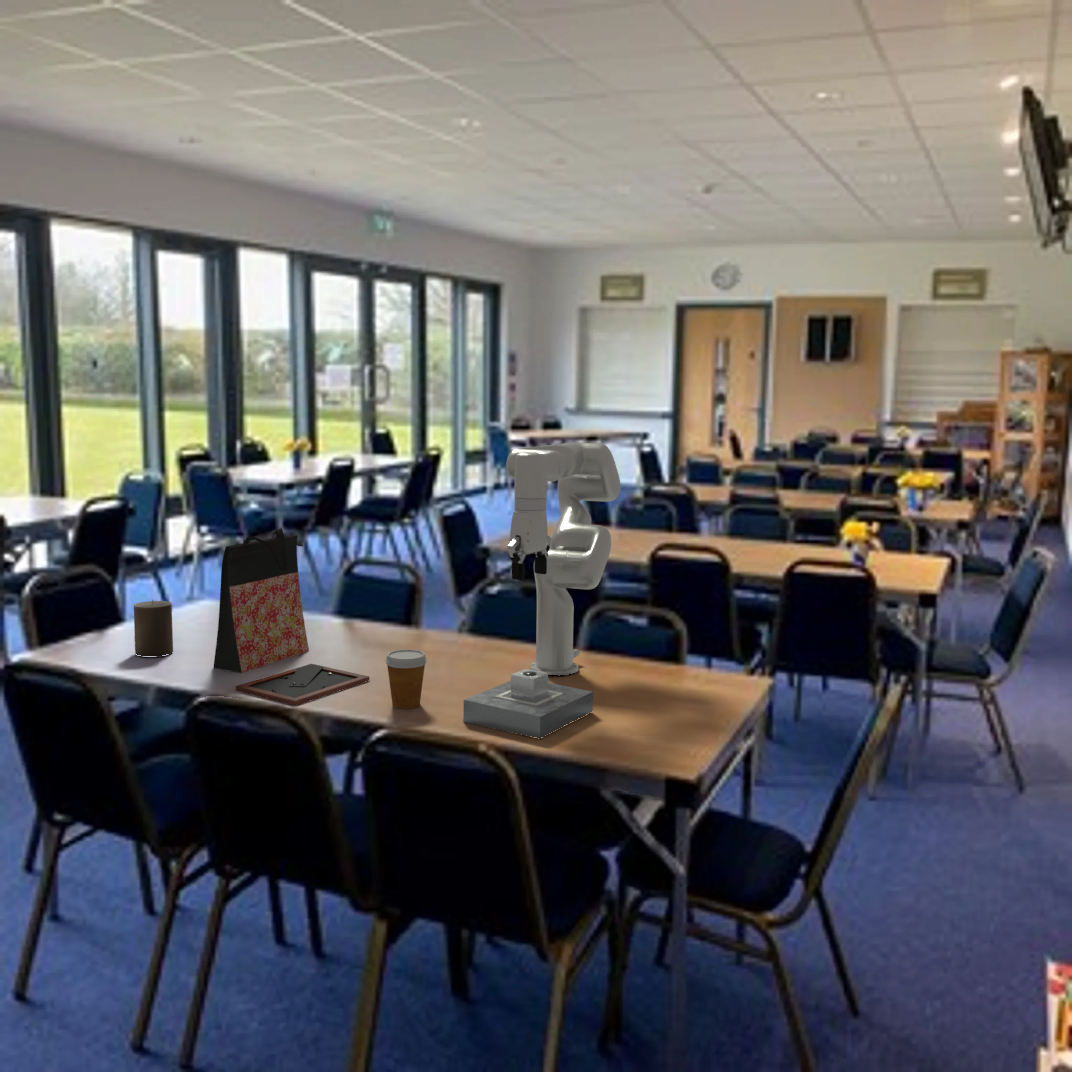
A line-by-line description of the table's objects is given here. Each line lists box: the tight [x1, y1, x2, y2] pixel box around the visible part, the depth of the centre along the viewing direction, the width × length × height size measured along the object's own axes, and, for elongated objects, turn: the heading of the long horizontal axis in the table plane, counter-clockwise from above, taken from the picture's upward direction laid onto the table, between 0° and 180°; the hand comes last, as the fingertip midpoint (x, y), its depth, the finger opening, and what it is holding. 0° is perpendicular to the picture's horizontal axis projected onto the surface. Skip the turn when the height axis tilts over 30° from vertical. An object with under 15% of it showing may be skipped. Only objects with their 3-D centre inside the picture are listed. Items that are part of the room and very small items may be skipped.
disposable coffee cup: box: [384, 649, 428, 710], centre depth 239 cm, size 10×10×12 cm
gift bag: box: [213, 527, 310, 674], centre depth 276 cm, size 29×14×35 cm, turn 152°
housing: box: [510, 668, 549, 701], centre depth 232 cm, size 6×6×5 cm
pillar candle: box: [133, 599, 174, 656], centre depth 280 cm, size 10×10×15 cm
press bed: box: [462, 680, 594, 740], centre depth 232 cm, size 22×20×5 cm
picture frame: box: [235, 663, 370, 707], centre depth 254 cm, size 20×2×25 cm
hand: (529, 576), depth 248 cm, fingers open, 9 cm apart
